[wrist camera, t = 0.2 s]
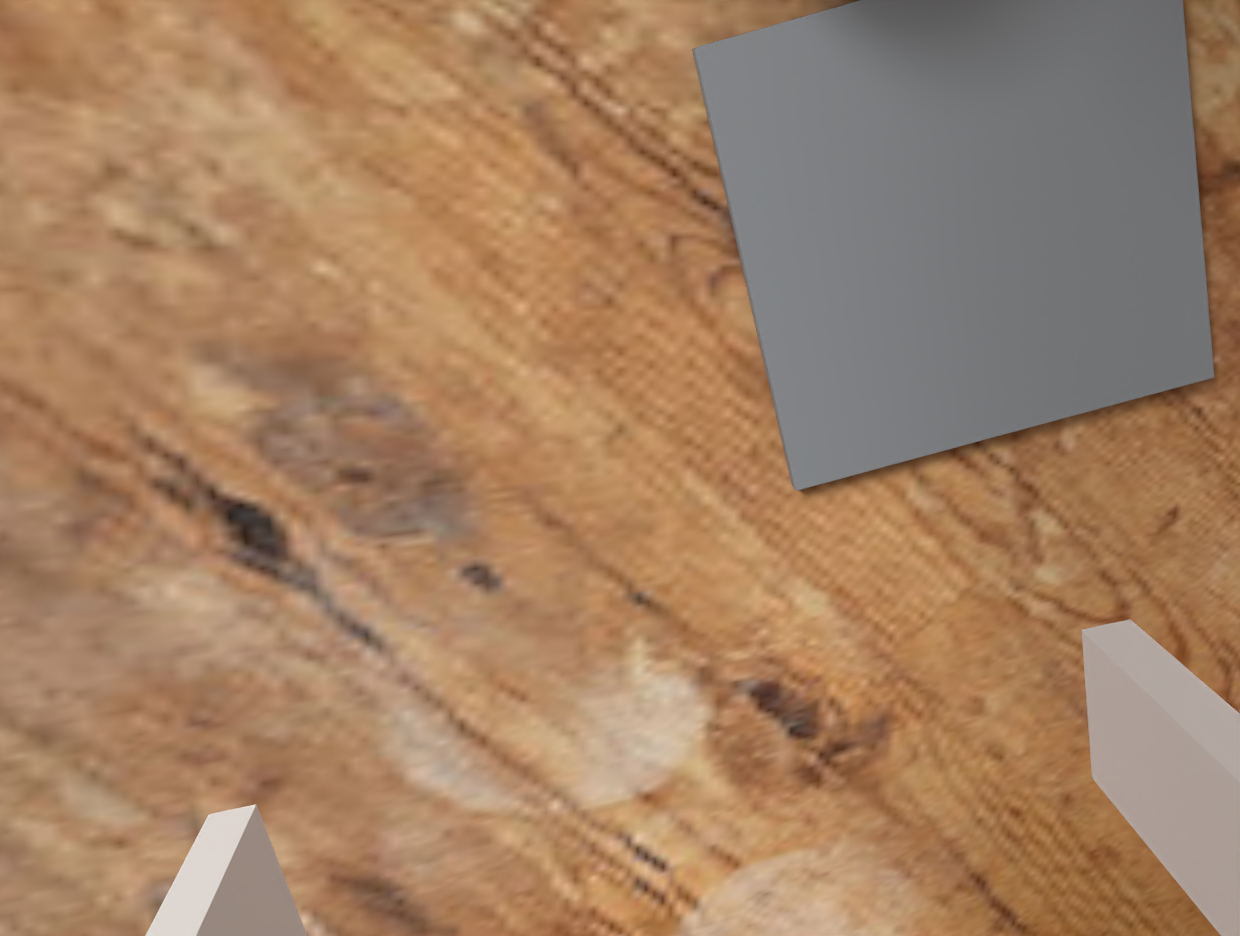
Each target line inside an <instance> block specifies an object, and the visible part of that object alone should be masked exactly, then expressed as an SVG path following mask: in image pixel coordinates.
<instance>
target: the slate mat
mask: <svg viewBox="0 0 1240 936" xmlns="http://www.w3.org/2000/svg"><path fill="white" fill-rule="evenodd" d="M692 51H693V55H694V60H695V64H696V69H697V73H698V77H699V82H700V86H701V90H702V95H703V99H704V103H705V108H706V112H707V116H708V121H709V125H710V130H711V134H712V138H713V143H714V147H715V151H716V156H717V160H718V164H719V169H720V173H721V178H722V182H723V186H724V191H725V195H726V199H727V204H728V208H729V212H730V217H731V221H732V226H733V230H734V234H735V239H736V243H737V247H738V252H739V256H740V260H741V265H742V269H743V274H744V278H745V282H746V287H747V291H748V295H749V300H750V304H751V308H752V313H753V317H754V321H755V326H756V330H757V335H758V339H759V343H760V348H761V352H762V356H763V361H764V365H765V369H766V374H767V378H768V383H769V387H770V391H771V396H772V400H773V404H774V409H775V413H776V417H777V422H778V426H779V431H780V435H781V439H782V444H783V448H784V452H785V457H786V461H787V465H788V470H789V474H790V479H791V483H792V486H793V487H794V489H795V490H796V491H797V490H801V489H804V488H808V487H812V486H815V485H819V484H823V483H826V482H830V481H834V480H838V479H841V478H845V477H849V476H852V475H856V474H860V473H863V472H867V471H871V470H874V469H878V468H882V467H886V466H889V465H893V464H897V463H900V462H904V461H908V460H911V459H915V458H919V457H922V456H926V455H930V454H934V453H937V452H941V451H945V450H948V449H952V448H956V447H959V446H963V445H967V444H970V443H974V442H978V441H982V440H985V439H989V438H993V437H996V436H1000V435H1004V434H1007V433H1011V432H1015V431H1018V430H1022V429H1026V428H1030V427H1033V426H1037V425H1041V424H1044V423H1048V422H1052V421H1055V420H1059V419H1063V418H1067V417H1070V416H1074V415H1078V414H1081V413H1085V412H1089V411H1092V410H1096V409H1100V408H1103V407H1107V406H1111V405H1115V404H1118V403H1122V402H1126V401H1129V400H1133V399H1137V398H1140V397H1144V396H1148V395H1151V394H1155V393H1159V392H1163V391H1166V390H1170V389H1174V388H1177V387H1181V386H1185V385H1188V384H1192V383H1196V382H1199V381H1203V380H1207V379H1211V378H1214V368H1213V356H1212V344H1211V332H1210V320H1209V308H1208V296H1207V284H1206V272H1205V260H1204V249H1203V237H1202V225H1201V213H1200V201H1199V189H1198V177H1197V165H1196V153H1195V141H1194V129H1193V117H1192V105H1191V93H1190V81H1189V69H1188V58H1187V46H1186V34H1185V22H1184V10H1183V0H860V1H856V2H853V3H849V4H846V5H842V6H839V7H835V8H832V9H828V10H825V11H821V12H818V13H814V14H811V15H807V16H804V17H800V18H797V19H793V20H790V21H787V22H783V23H780V24H776V25H773V26H769V27H766V28H762V29H759V30H755V31H752V32H748V33H745V34H741V35H738V36H734V37H731V38H727V39H724V40H720V41H717V42H713V43H710V44H706V45H703V46H700V47H696V48H694V49H692Z"/></svg>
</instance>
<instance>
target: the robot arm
mask: <svg viewBox="0 0 1240 936" xmlns="http://www.w3.org/2000/svg"><path fill="white" fill-rule="evenodd" d="M1082 643H1083V657H1084V671H1085V685H1086V699H1087V713H1088V727H1089V741H1090V755H1091V769H1092V778H1093V780H1094V781H1095V782H1096V783H1097V784H1098V786H1099V787H1100V788H1101V789H1102V791H1103V792H1104V793H1105V794H1106V796H1107V797H1108V798H1109V799H1110V800H1111V802H1112V803H1113V804H1114V805H1115V807H1116V808H1117V809H1118V810H1119V811H1120V813H1121V814H1122V815H1123V816H1124V818H1125V819H1126V820H1127V821H1128V822H1129V824H1130V825H1131V826H1132V827H1133V829H1134V830H1135V831H1136V832H1137V834H1138V835H1139V836H1140V837H1141V838H1142V840H1143V841H1144V842H1145V843H1146V845H1147V846H1148V847H1149V848H1150V849H1151V851H1152V852H1153V853H1154V854H1155V856H1156V857H1157V858H1158V859H1159V861H1160V862H1161V863H1162V864H1163V865H1164V867H1165V868H1166V869H1167V870H1168V872H1169V873H1170V874H1171V875H1172V876H1173V878H1174V879H1175V880H1176V881H1177V883H1178V884H1179V885H1180V886H1181V887H1182V889H1183V890H1184V891H1185V892H1186V894H1187V895H1188V896H1189V897H1190V899H1191V900H1192V901H1193V902H1194V903H1195V905H1196V906H1197V907H1198V908H1199V910H1200V911H1201V912H1202V913H1203V914H1204V916H1205V917H1206V918H1207V919H1208V921H1209V922H1210V923H1211V924H1212V926H1213V927H1214V928H1215V929H1216V930H1217V932H1218V933H1219V934H1220V935H1221V936H1240V714H1239V713H1238V712H1237V711H1236V710H1235V709H1234V708H1233V707H1231V706H1230V705H1229V704H1228V703H1227V702H1226V701H1224V700H1223V699H1222V698H1221V697H1220V696H1219V695H1217V694H1216V693H1215V692H1214V691H1213V690H1212V689H1210V688H1209V687H1208V686H1207V685H1206V684H1205V683H1204V682H1202V681H1201V680H1200V679H1199V678H1198V677H1197V676H1195V675H1194V674H1193V673H1192V672H1191V671H1190V670H1188V669H1187V668H1186V667H1185V666H1184V665H1183V664H1182V663H1180V662H1179V661H1178V660H1177V659H1176V658H1175V657H1173V656H1172V655H1171V654H1170V653H1169V652H1168V651H1166V650H1165V649H1164V648H1163V647H1162V646H1161V645H1160V644H1158V643H1157V642H1156V641H1155V640H1154V639H1153V638H1151V637H1150V636H1149V635H1148V634H1147V633H1146V632H1144V631H1143V630H1142V629H1141V628H1140V627H1139V626H1137V625H1136V624H1135V623H1134V622H1133V621H1132V620H1131V619H1130V620H1125V621H1120V622H1116V623H1111V624H1106V625H1101V626H1097V627H1092V628H1087V629H1083V630H1082ZM146 936H307V934H306V932H305V929H304V926H303V924H302V921H301V919H300V916H299V914H298V911H297V908H296V906H295V903H294V901H293V898H292V895H291V893H290V890H289V888H288V885H287V883H286V880H285V877H284V875H283V872H282V870H281V867H280V864H279V862H278V859H277V857H276V854H275V851H274V849H273V846H272V844H271V841H270V839H269V836H268V833H267V831H266V828H265V826H264V823H263V820H262V818H261V815H260V813H259V810H258V808H257V805H251V806H246V807H241V808H237V809H232V810H227V811H222V812H218V813H213V814H209V815H208V817H207V819H206V821H205V823H204V825H203V827H202V828H201V830H200V832H199V834H198V836H197V838H196V840H195V842H194V844H193V846H192V848H191V850H190V851H189V853H188V855H187V857H186V859H185V861H184V863H183V865H182V867H181V869H180V871H179V873H178V874H177V876H176V878H175V880H174V882H173V884H172V886H171V888H170V890H169V892H168V894H167V896H166V897H165V899H164V901H163V903H162V905H161V907H160V909H159V911H158V913H157V915H156V917H155V919H154V921H153V922H152V924H151V926H150V928H149V930H148V932H147V934H146Z"/></svg>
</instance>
